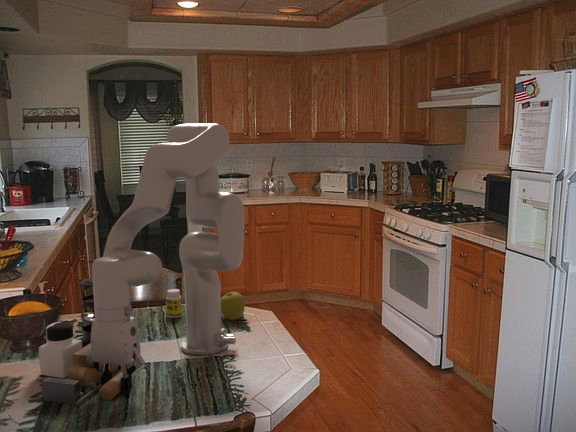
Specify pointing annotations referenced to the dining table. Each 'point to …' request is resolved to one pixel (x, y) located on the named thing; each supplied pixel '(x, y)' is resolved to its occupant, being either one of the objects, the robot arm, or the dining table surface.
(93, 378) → the track
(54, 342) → the medicine bottle
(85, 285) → the french press
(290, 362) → the dining table surface
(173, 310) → the supplement bottle
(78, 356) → the slab
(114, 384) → the roller
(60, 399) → the block
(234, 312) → the apple
